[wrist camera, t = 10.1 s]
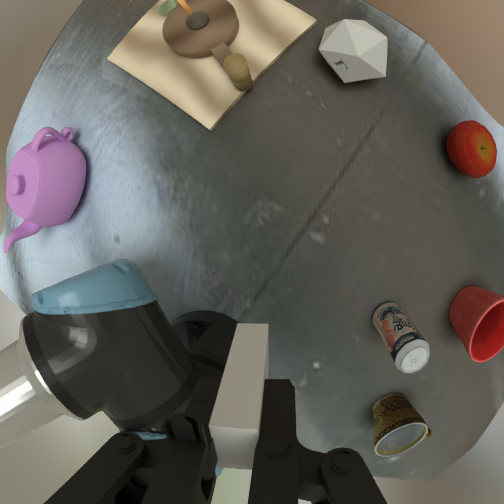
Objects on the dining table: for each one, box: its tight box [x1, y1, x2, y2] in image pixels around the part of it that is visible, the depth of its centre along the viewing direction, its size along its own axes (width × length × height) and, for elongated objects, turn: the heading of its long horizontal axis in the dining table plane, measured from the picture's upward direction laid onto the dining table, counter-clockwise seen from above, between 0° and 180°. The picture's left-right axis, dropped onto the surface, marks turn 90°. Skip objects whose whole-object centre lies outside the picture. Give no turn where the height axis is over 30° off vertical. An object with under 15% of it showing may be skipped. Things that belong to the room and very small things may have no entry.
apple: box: [446, 120, 497, 178], centre depth 27 cm, size 8×8×8 cm
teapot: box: [4, 127, 86, 253], centre depth 32 cm, size 20×13×12 cm, turn 152°
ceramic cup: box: [372, 393, 431, 456], centre depth 39 cm, size 13×10×10 cm
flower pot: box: [449, 285, 504, 362], centre depth 32 cm, size 11×11×10 cm
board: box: [107, 0, 317, 131], centre depth 29 cm, size 22×22×1 cm
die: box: [319, 19, 387, 83], centre depth 26 cm, size 8×9×10 cm
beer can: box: [373, 302, 430, 373], centre depth 33 cm, size 5×5×12 cm
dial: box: [162, 0, 253, 91], centre depth 26 cm, size 18×10×7 cm, turn 31°
